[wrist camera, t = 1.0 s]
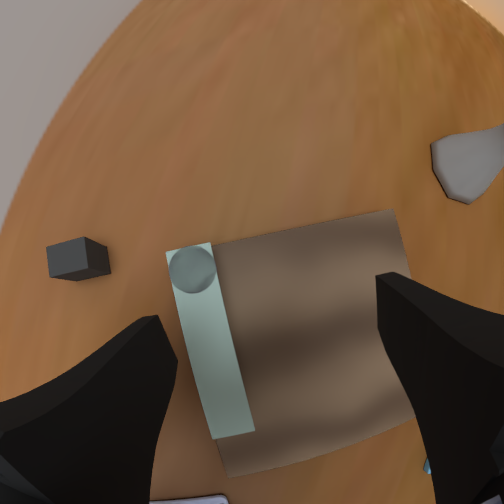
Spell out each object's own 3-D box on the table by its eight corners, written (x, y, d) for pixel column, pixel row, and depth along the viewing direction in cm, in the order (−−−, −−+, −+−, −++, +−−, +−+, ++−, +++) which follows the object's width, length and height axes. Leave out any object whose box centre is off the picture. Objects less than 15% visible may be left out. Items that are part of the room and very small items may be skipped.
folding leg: (172, 257, 20) (164, 251, 17) (212, 248, 20) (210, 241, 17) (213, 423, 18) (211, 439, 16) (252, 415, 19) (256, 430, 16)
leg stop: (110, 273, 22) (88, 268, 18) (76, 281, 22) (49, 277, 17) (106, 247, 22) (84, 236, 18) (73, 255, 22) (46, 247, 18)
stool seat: (414, 401, 22) (430, 409, 20) (227, 462, 20) (228, 478, 18) (378, 216, 24) (393, 208, 22) (175, 259, 22) (169, 255, 20)
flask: (419, 136, 26) (481, 81, 16) (467, 138, 27) (526, 95, 17) (442, 208, 25) (519, 172, 15) (488, 202, 26) (557, 172, 16)
